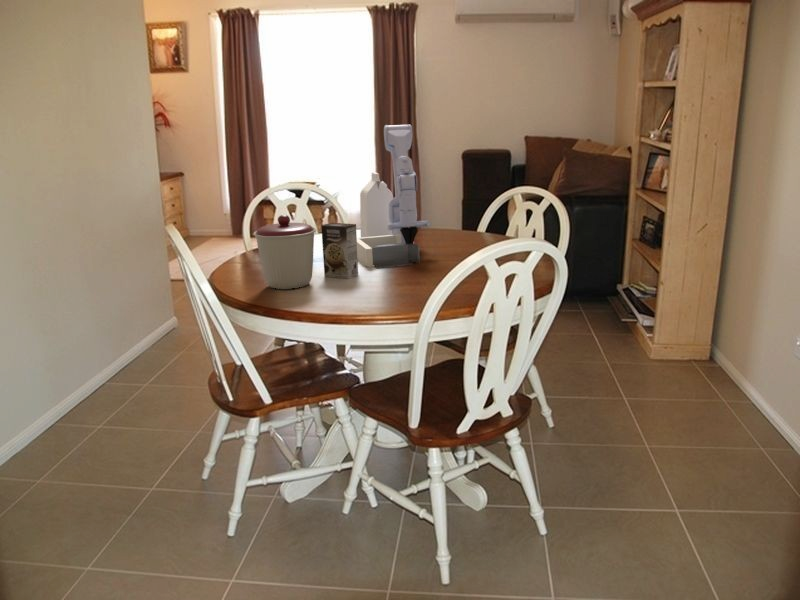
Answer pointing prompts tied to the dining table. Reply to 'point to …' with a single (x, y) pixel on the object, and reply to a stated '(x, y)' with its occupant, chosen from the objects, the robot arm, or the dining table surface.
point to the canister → (286, 253)
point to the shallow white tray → (367, 242)
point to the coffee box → (340, 250)
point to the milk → (375, 208)
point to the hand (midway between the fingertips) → (409, 249)
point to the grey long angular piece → (395, 255)
